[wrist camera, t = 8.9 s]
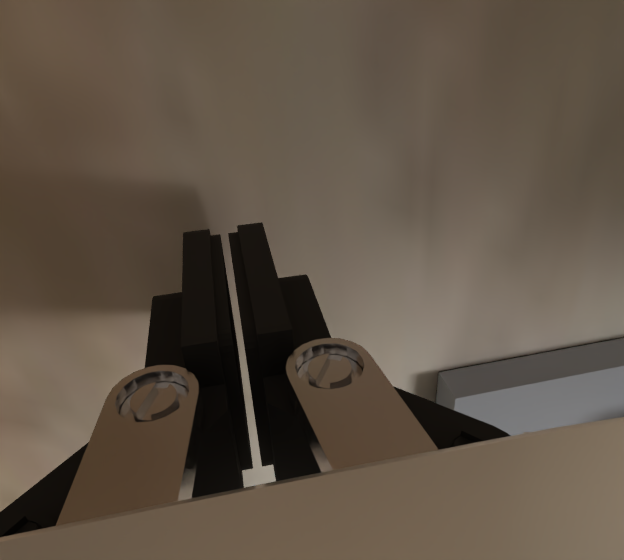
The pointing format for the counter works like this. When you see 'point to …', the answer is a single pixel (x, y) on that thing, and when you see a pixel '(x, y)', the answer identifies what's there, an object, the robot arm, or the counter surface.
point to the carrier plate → (540, 388)
